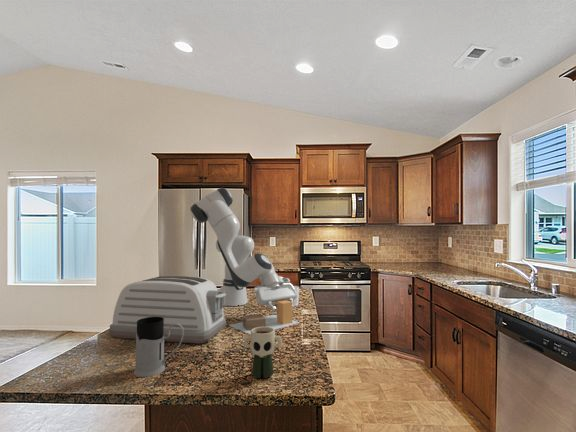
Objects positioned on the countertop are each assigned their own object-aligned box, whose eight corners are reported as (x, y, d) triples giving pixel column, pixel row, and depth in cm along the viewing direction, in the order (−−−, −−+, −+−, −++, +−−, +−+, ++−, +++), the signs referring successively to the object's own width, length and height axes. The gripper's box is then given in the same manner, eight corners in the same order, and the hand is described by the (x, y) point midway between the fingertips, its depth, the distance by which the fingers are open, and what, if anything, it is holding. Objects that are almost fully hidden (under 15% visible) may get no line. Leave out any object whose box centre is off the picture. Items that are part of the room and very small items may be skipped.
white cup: (293, 307, 176) (293, 288, 176) (282, 305, 180) (282, 287, 181) (302, 304, 182) (301, 286, 182) (290, 302, 187) (290, 285, 187)
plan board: (228, 327, 139) (228, 325, 139) (274, 316, 157) (274, 314, 157) (253, 338, 126) (253, 335, 126) (300, 324, 143) (300, 322, 143)
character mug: (242, 381, 90) (242, 334, 91) (245, 370, 97) (245, 326, 98) (281, 380, 90) (281, 333, 91) (281, 369, 97) (281, 326, 98)
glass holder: (140, 364, 101) (141, 316, 102) (186, 363, 102) (187, 315, 103) (128, 377, 93) (129, 324, 93) (179, 375, 94) (179, 323, 94)
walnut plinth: (242, 325, 140) (242, 315, 140) (260, 323, 142) (260, 314, 143) (246, 330, 132) (246, 320, 132) (265, 328, 135) (265, 318, 135)
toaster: (210, 346, 117) (211, 284, 118) (104, 338, 126) (105, 281, 127) (233, 327, 139) (234, 275, 140) (142, 322, 148) (142, 273, 149)
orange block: (276, 321, 144) (276, 301, 145) (286, 320, 147) (286, 300, 148) (283, 324, 140) (283, 303, 141) (292, 322, 143) (292, 302, 144)
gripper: (254, 282, 145) (266, 308, 136) (291, 278, 157) (304, 302, 148) (250, 290, 148) (260, 316, 140) (286, 286, 160) (298, 310, 151)
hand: (283, 309), depth 144 cm, fingers open, 8 cm apart
